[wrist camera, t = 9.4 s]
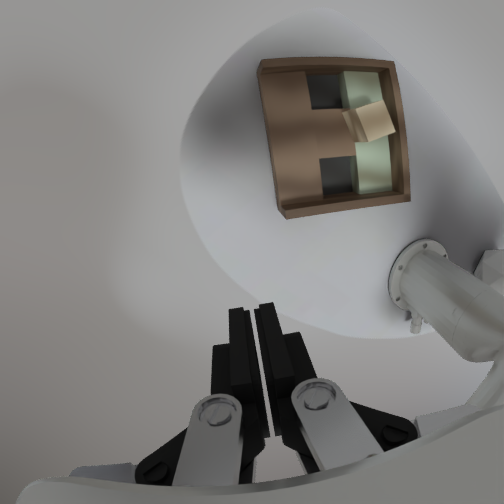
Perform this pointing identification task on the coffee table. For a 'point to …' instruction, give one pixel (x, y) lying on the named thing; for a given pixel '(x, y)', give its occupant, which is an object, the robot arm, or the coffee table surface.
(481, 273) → the die
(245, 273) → the coffee table surface
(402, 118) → the box
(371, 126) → the maple block
